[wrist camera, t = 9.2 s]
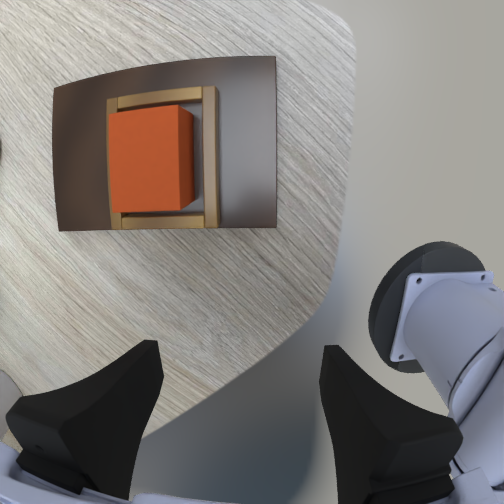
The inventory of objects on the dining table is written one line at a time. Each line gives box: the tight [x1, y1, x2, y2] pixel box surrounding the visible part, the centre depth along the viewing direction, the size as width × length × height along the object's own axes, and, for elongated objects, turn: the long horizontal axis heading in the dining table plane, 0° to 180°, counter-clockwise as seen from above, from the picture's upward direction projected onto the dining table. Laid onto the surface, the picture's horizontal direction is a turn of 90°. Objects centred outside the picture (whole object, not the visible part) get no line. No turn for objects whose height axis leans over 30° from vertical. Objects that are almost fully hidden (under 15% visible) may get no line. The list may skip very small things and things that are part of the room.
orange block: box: [109, 105, 195, 213], centre depth 16 cm, size 4×6×4 cm
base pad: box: [52, 56, 277, 231], centre depth 18 cm, size 16×11×2 cm
